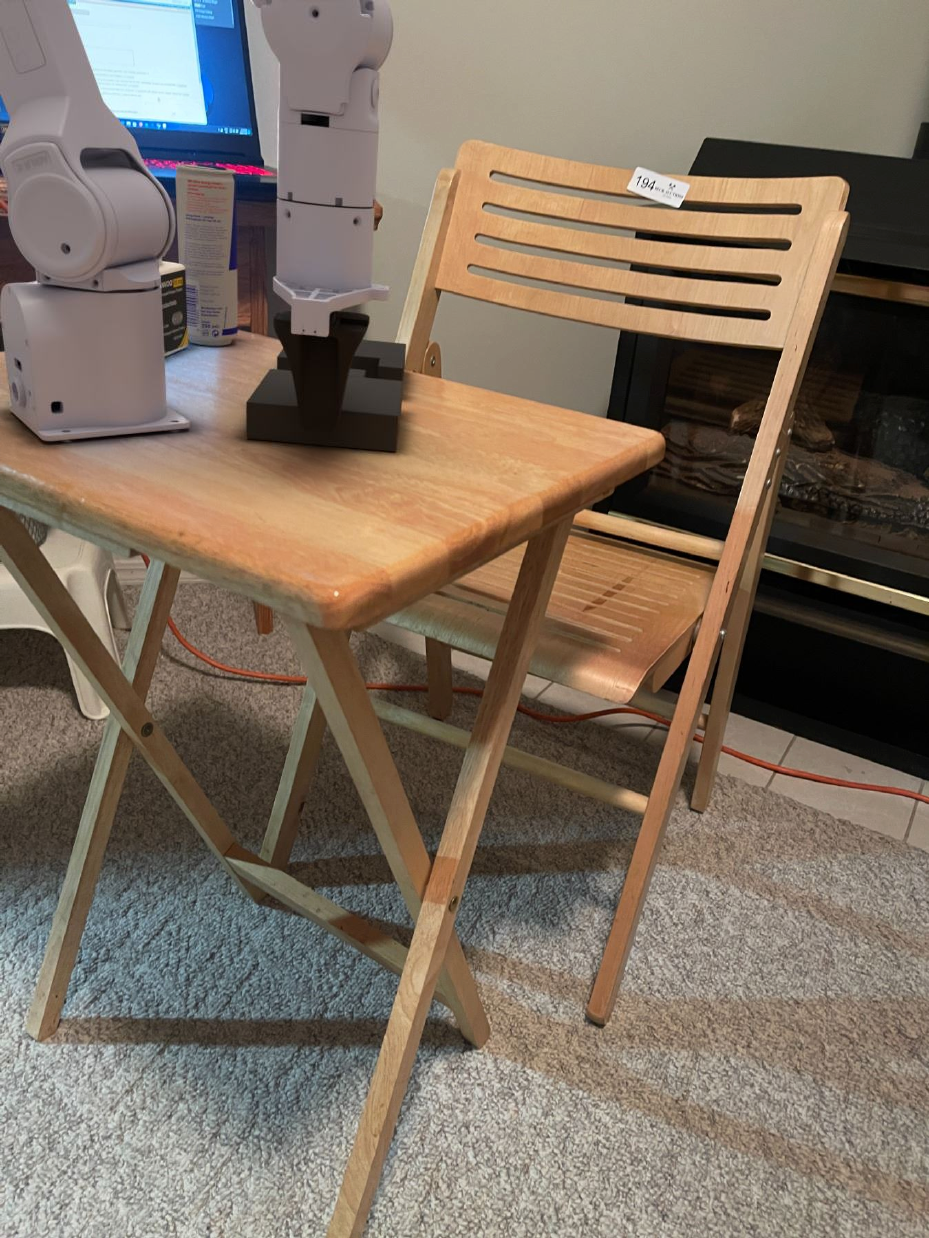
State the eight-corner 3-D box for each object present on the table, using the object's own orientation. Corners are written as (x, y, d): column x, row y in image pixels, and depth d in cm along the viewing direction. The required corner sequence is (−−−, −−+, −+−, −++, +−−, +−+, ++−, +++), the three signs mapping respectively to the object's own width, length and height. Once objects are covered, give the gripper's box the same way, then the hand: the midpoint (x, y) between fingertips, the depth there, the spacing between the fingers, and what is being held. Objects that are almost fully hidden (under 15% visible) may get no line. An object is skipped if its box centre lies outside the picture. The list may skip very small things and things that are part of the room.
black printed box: (153, 363, 78) (145, 207, 73) (73, 352, 79) (59, 197, 74) (189, 347, 85) (184, 203, 79) (115, 337, 85) (105, 194, 80)
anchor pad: (401, 399, 76) (403, 368, 75) (276, 388, 75) (276, 356, 74) (404, 371, 85) (406, 343, 84) (293, 361, 84) (293, 333, 83)
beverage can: (245, 339, 90) (243, 167, 83) (227, 349, 86) (224, 168, 79) (193, 333, 90) (187, 161, 83) (173, 343, 86) (165, 162, 79)
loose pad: (396, 452, 63) (398, 415, 62) (246, 439, 62) (245, 401, 61) (402, 405, 74) (404, 373, 73) (274, 393, 73) (275, 361, 72)
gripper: (388, 219, 49) (374, 468, 55) (398, 202, 62) (386, 406, 68) (252, 205, 48) (253, 458, 55) (290, 191, 61) (288, 397, 67)
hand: (319, 428), depth 61 cm, fingers closed
